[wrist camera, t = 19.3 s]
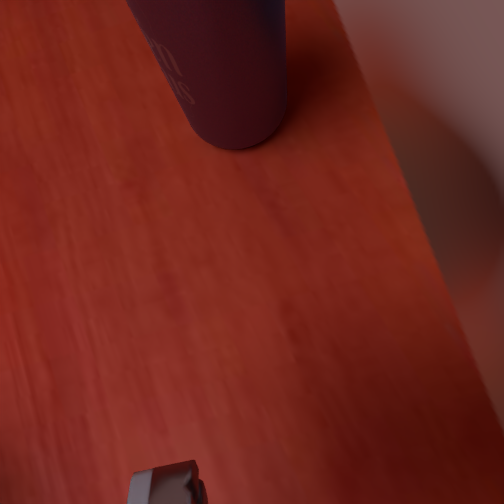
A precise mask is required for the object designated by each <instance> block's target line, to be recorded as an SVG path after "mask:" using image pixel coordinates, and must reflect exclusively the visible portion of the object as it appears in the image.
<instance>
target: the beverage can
mask: <svg viewBox="0 0 504 504" xmlns="http://www.w3.org/2000/svg"><path fill="white" fill-rule="evenodd" d="M126 2H127V4H128V6H129V8H130V9H131V11H132V13H133V15H134V17H135V19H136V21H137V23H138V25H139V27H140V29H141V31H142V33H143V35H144V36H145V38H146V40H147V42H148V44H149V46H150V48H151V50H152V52H153V54H154V56H155V58H156V60H157V61H158V63H159V65H160V67H161V69H162V71H163V73H164V75H165V77H166V79H167V81H168V83H169V85H170V86H171V88H172V90H173V92H174V94H175V96H176V98H177V100H178V102H179V104H180V106H181V108H182V110H183V111H184V113H185V115H186V117H187V119H188V121H189V123H190V125H191V127H192V128H193V130H194V131H195V132H196V133H197V134H198V136H200V137H201V138H202V139H203V140H205V141H206V142H208V143H210V144H212V145H214V146H217V147H220V148H225V149H242V148H247V147H250V146H253V145H255V144H258V143H260V142H261V141H263V140H265V139H266V138H267V137H269V136H270V135H271V134H272V133H273V132H274V131H275V130H276V128H277V127H278V126H279V124H280V122H281V121H282V119H283V116H284V114H285V111H286V106H287V73H286V30H285V0H126Z"/></svg>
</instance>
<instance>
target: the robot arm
mask: <svg viewBox="0 0 504 504" xmlns="http://www.w3.org/2000/svg"><path fill="white" fill-rule="evenodd" d="M127 504H208V498H207V493H206V489H205V486H204V483H203V481H202V480H200V479H199V469H198V466H197V464H196V461H195V460H190V461H185V462H180V463H175V464H171V465H166V466H161V467H156V468H152V469H148V470H143V471H138V472H134V474H133V476H132V478H131V483H130V488H129V494H128V499H127Z"/></svg>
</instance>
